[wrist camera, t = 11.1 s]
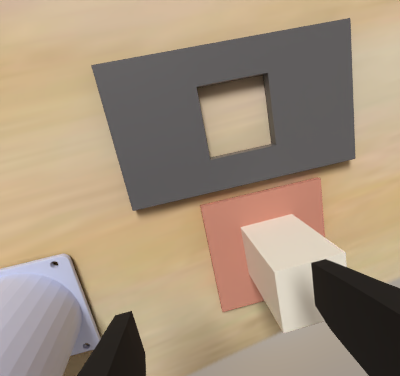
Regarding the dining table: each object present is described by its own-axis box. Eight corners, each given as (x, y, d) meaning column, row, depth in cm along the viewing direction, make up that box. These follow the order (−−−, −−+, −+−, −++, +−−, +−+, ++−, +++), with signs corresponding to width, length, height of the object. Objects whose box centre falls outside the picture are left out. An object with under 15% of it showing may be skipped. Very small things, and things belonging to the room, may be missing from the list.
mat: (221, 308, 22) (222, 312, 21) (200, 205, 19) (201, 207, 19) (325, 280, 22) (328, 282, 22) (317, 177, 20) (320, 178, 20)
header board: (133, 207, 18) (132, 210, 18) (94, 67, 16) (91, 65, 15) (347, 157, 20) (355, 158, 19) (342, 22, 17) (350, 18, 17)
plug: (248, 273, 21) (283, 333, 15) (240, 227, 20) (274, 272, 14) (297, 260, 21) (349, 313, 15) (291, 213, 20) (345, 252, 14)
